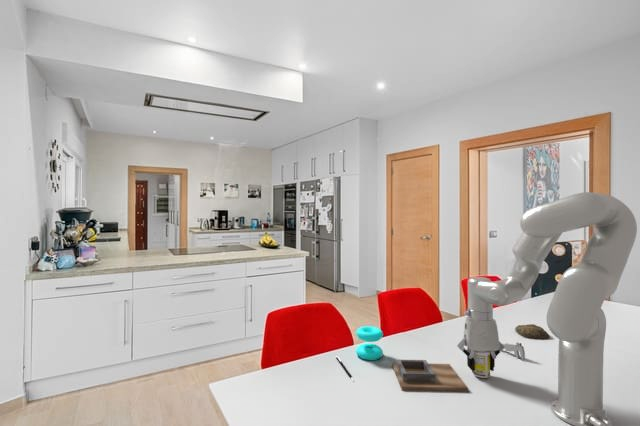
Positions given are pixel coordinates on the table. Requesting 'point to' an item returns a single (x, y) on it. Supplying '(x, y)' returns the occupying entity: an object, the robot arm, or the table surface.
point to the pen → (344, 368)
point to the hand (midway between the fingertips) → (480, 368)
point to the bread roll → (532, 331)
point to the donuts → (368, 349)
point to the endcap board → (427, 376)
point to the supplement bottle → (481, 364)
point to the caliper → (516, 349)
